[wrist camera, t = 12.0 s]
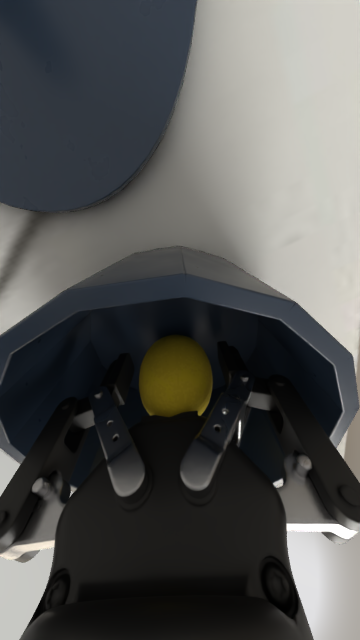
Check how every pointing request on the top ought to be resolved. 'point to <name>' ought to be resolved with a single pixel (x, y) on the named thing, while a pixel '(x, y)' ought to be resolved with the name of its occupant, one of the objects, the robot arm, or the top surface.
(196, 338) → the pot
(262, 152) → the top surface
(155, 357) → the lemon
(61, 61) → the lid
